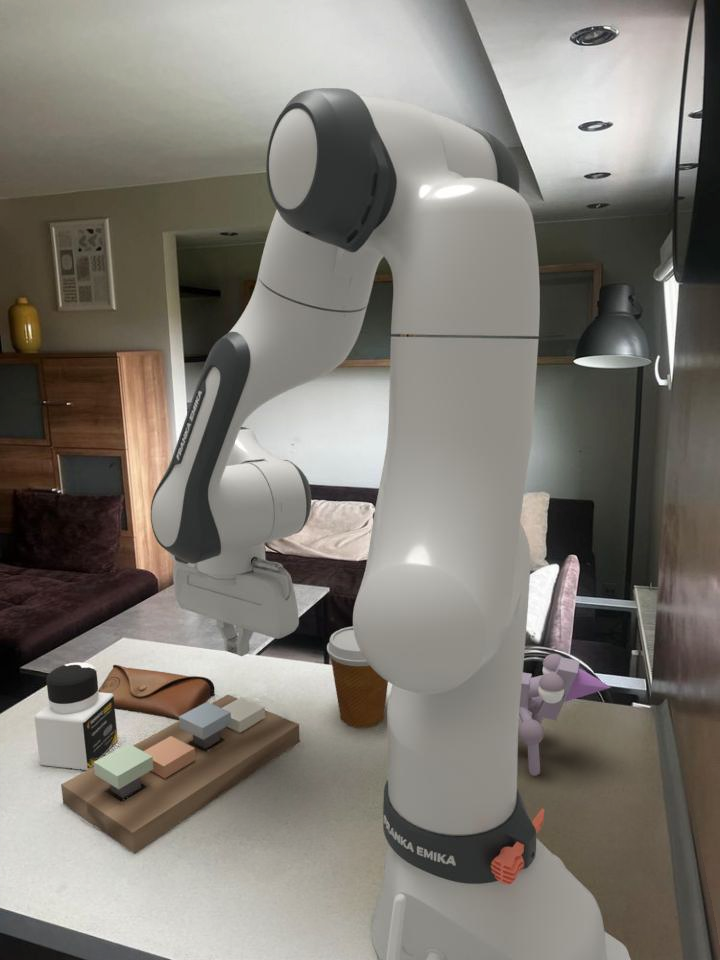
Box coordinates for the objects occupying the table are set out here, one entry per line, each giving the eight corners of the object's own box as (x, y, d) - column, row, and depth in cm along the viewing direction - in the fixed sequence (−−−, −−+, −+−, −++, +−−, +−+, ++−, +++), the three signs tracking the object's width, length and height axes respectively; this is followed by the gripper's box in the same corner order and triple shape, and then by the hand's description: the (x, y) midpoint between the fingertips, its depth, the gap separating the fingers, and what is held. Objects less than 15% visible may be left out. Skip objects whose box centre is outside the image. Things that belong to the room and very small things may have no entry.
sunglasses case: (80, 706, 104) (92, 660, 106) (108, 708, 110) (118, 665, 113) (188, 722, 99) (197, 674, 101) (210, 723, 105) (218, 678, 108)
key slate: (232, 739, 90) (230, 712, 89) (204, 755, 87) (202, 728, 86) (208, 727, 93) (206, 701, 92) (180, 743, 89) (178, 716, 89)
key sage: (154, 786, 81) (152, 756, 80) (120, 807, 77) (117, 776, 77) (131, 772, 84) (128, 743, 83) (96, 791, 80) (93, 762, 79)
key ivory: (265, 732, 95) (264, 706, 95) (241, 748, 92) (239, 721, 91) (242, 722, 98) (241, 697, 97) (217, 736, 94) (215, 711, 94)
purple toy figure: (608, 745, 91) (613, 651, 88) (605, 797, 82) (610, 694, 79) (459, 718, 99) (458, 630, 95) (439, 764, 89) (438, 668, 86)
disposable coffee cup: (315, 715, 100) (312, 637, 98) (364, 693, 106) (362, 619, 104) (360, 742, 93) (358, 659, 91) (409, 716, 100) (408, 637, 97)
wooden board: (299, 741, 94) (299, 724, 93) (134, 853, 74) (132, 832, 73) (229, 710, 102) (228, 694, 102) (63, 803, 82) (61, 784, 82)
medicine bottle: (88, 771, 88) (79, 684, 86) (39, 766, 90) (28, 679, 87) (119, 740, 95) (111, 658, 93) (72, 735, 96) (63, 655, 94)
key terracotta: (196, 775, 86) (194, 748, 85) (166, 795, 82) (163, 766, 82) (173, 763, 89) (170, 735, 88) (142, 781, 85) (139, 753, 84)
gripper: (307, 558, 86) (311, 663, 88) (198, 535, 98) (206, 627, 101) (270, 572, 81) (277, 682, 84) (161, 546, 93) (170, 643, 96)
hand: (237, 652), depth 92 cm, fingers closed
